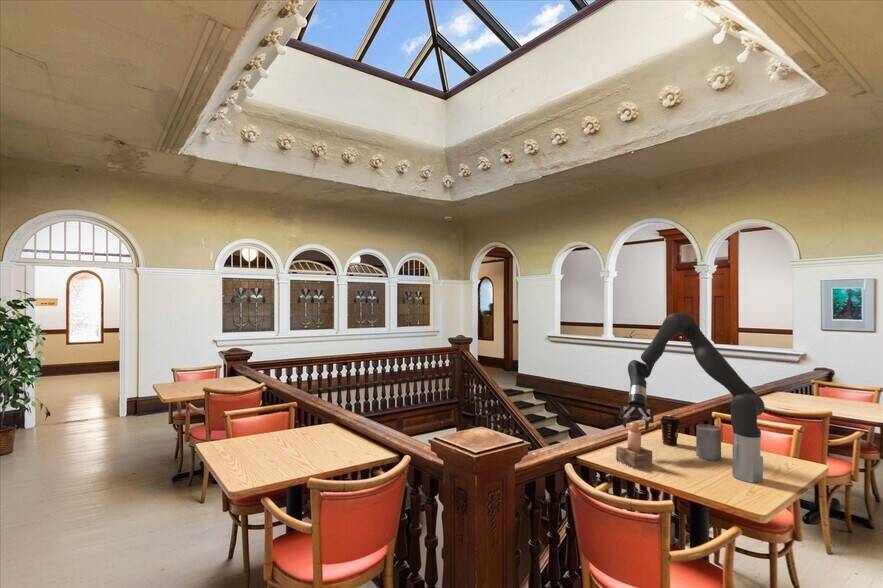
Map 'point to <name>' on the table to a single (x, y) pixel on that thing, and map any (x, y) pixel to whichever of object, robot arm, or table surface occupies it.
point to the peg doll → (634, 438)
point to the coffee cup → (670, 430)
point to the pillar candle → (708, 442)
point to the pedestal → (634, 457)
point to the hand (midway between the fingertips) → (635, 428)
